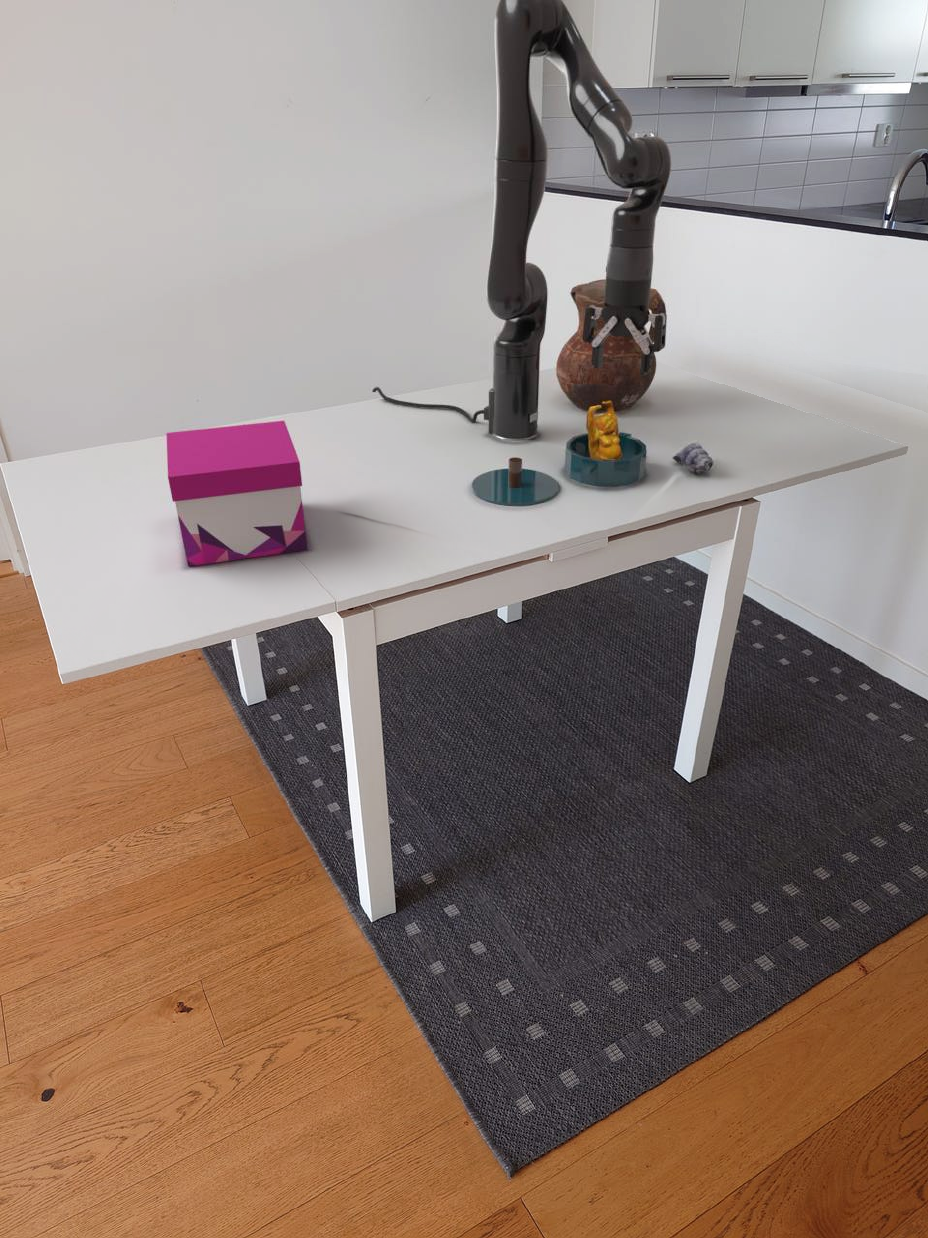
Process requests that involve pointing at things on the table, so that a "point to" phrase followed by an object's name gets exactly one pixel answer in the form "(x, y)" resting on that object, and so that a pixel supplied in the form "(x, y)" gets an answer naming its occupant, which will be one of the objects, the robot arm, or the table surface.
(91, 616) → the table surface
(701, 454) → the seashell
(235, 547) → the decorative box
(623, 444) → the pot
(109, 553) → the table surface
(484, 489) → the lid
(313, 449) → the table surface
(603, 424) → the figurine
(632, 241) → the robot arm
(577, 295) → the jug
